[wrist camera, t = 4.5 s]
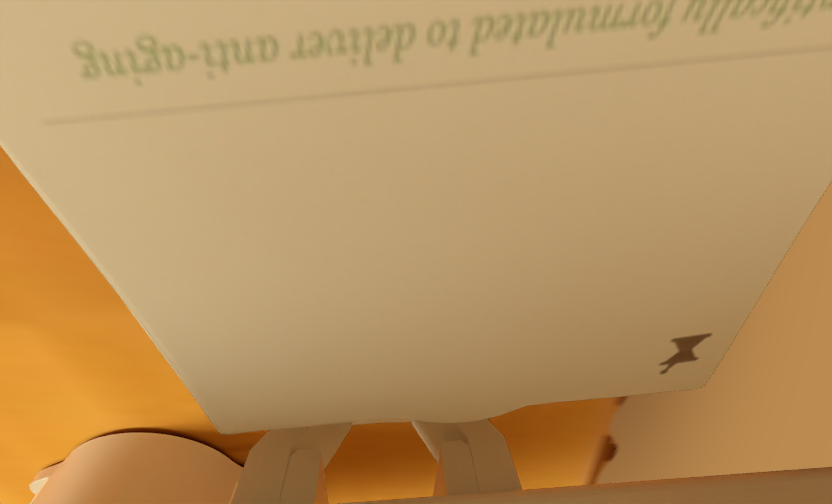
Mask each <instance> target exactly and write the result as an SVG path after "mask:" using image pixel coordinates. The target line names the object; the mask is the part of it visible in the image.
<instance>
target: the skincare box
mask: <svg viewBox="0 0 832 504" xmlns="http://www.w3.org/2000/svg"><path fill="white" fill-rule="evenodd" d="M0 145H1V147H2V148H3V149H4V151H5V152H6V153H7V154H8V156H9V157H10V158H11V160H12V161H13V162H14V163H15V165H16V166H17V167H18V169H19V170H20V171H21V173H22V174H23V175H24V176H25V178H26V179H27V180H28V182H29V183H30V184H31V185H32V186H33V188H34V189H35V190H36V191H37V193H38V194H39V195H40V196H41V198H42V199H43V200H44V201H45V203H46V204H47V205H48V206H49V208H50V209H51V210H52V211H53V213H54V214H55V215H56V216H57V218H58V219H59V220H60V221H61V223H62V224H63V225H64V226H65V228H66V229H67V230H68V231H69V233H70V234H71V235H72V236H73V238H74V239H75V240H76V241H77V243H78V244H79V245H80V246H81V248H82V249H83V250H84V251H85V253H86V254H87V255H88V257H89V258H90V259H91V260H92V262H93V263H94V264H95V265H96V267H97V268H98V269H99V271H100V272H101V273H102V274H103V276H104V277H105V278H106V280H107V281H108V282H109V283H110V285H111V286H112V287H113V288H114V290H115V291H116V292H117V294H118V295H119V296H120V298H121V299H122V300H123V302H124V303H125V304H126V306H127V307H128V308H129V310H130V311H131V313H132V314H133V315H134V317H135V318H136V319H137V321H138V322H139V323H140V325H141V326H142V327H143V329H144V330H145V332H146V333H147V334H148V336H149V337H150V338H151V340H152V341H153V342H154V344H155V345H156V347H157V348H158V349H159V351H160V352H161V353H162V355H163V356H164V357H165V359H166V360H167V362H168V363H169V364H170V366H171V367H172V368H173V370H174V371H175V372H176V374H177V375H178V377H179V378H180V379H181V381H182V382H183V383H184V385H185V386H186V387H187V389H188V390H189V392H190V393H191V394H192V396H193V397H194V398H195V400H196V401H197V403H198V404H199V405H200V407H201V408H202V410H203V411H204V412H205V414H206V415H207V417H208V418H209V419H210V421H211V422H212V424H213V425H214V426H215V428H216V429H217V431H218V432H219V433H221V434H224V435H231V434H238V433H245V432H251V431H261V430H273V429H285V428H297V427H307V426H318V425H329V424H339V423H350V422H360V421H370V420H381V419H391V418H406V419H412V420H417V421H423V422H435V423H461V422H471V421H479V420H483V419H488V418H493V417H497V416H501V415H503V414H506V413H508V412H511V411H514V410H517V409H519V408H522V407H525V406H529V405H538V404H547V403H556V402H565V401H577V400H588V399H600V398H612V397H622V396H632V395H642V394H651V393H660V392H670V391H684V390H692V389H697V388H702V387H703V386H705V385H706V383H707V382H708V380H709V379H710V377H711V376H712V374H713V373H714V371H715V370H716V368H717V366H718V365H719V363H720V362H721V360H722V359H723V357H724V356H725V354H726V352H727V351H728V349H729V347H730V346H731V344H732V342H733V341H734V339H735V338H736V336H737V334H738V333H739V331H740V329H741V328H742V326H743V324H744V323H745V321H746V319H747V318H748V316H749V314H750V313H751V311H752V309H753V308H754V306H755V305H756V303H757V301H758V299H759V298H760V296H761V295H762V293H763V291H764V290H765V288H766V286H767V285H768V283H769V282H770V280H771V278H772V276H773V275H774V273H775V272H776V270H777V268H778V267H779V265H780V263H781V262H782V260H783V258H784V257H785V255H786V253H787V252H788V250H789V248H790V247H791V245H792V243H793V242H794V240H795V238H796V237H797V235H798V234H799V232H800V230H801V229H802V227H803V226H804V224H805V222H806V220H807V219H808V218H809V216H810V215H811V213H812V211H813V210H814V208H815V207H816V205H817V203H818V202H819V200H820V199H821V197H822V196H823V194H824V192H825V191H826V189H827V188H828V186H829V185H830V183H831V182H832V0H0Z"/></svg>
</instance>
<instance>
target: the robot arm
mask: <svg viewBox="0 0 832 504" xmlns="http://www.w3.org/2000/svg"><path fill="white" fill-rule="evenodd" d="M388 422H411V424H412V425H413V427H414V428H415V430H416V431H417V433H418V434H419V436H420V437H421V439H422V440H423V442H424V443H425V445H426V446H427V448H428V449H429V451H430V452H431V454H432V455H433V457H434V458H435V460H436V461H437V462H438V467H437V473H436V480H435V486H434V493H433V497H419V498H406V499H393V500H379V501H366V502H353V503H339V504H832V467H824V468H811V469H798V470H783V471H771V472H757V473H745V474H744V473H743V474H730V475H717V476H703V477H689V478H676V479H664V480H663V479H662V480H650V481H636V482H622V483H609V484H595V485H582V486H568V487H555V488H541V489H528V490H522V487H521V484H520V481H519V478H518V475H517V472H516V469H515V466H514V463H513V460H512V457H511V454H510V451H509V448H508V445H507V442H506V439H505V436H504V435H503V434H502V433H501V432H500V431H499V430H498V429H497V428H496V427H495V426H494V425H493V424H492V423H491V422H490V421H489V420H488V419H483V420H479V421H471V422H461V423H435V422H423V421H417V420H412V419H406V418H391V419H381V420H370V421H360V422H350V423H339V424H329V425H318V426H307V427H297V428H285V429H273V430H269V431H268V432H267V433H266V434H265V435H264V436H263V437H262V438H261V439H260V440H259V441H258V442H257V443H256V444H255V445H254V446H253V447H252V448H251V449H250V451H249V454H248V457H247V459H246V462H245V465H244V467H241V466H239V465H237V464H236V463H234V462H233V461H232V460H230V459H229V458H228V457H226V456H225V455H223V454H222V453H220V452H219V451H217V450H215V449H213V448H211V447H209V446H206V445H204V444H201V443H199V442H196V441H193V440H189V439H186V438H182V437H177V436H172V435H166V434H158V433H139V432H137V433H120V434H113V435H107V436H103V437H99V438H96V439H93V440H90V441H88V442H85V443H83V444H82V445H80V446H78V447H77V448H76V449H74V450H73V451H72V452H71V453H70V454H69V456H68V457H67V458H66V459H65V460H64V461H63V462H61V463H59V464H56V465H54V466H51V467H48V468H45V469H43V470H41V471H40V472H38V474H37V475H36V476H35V478H34V479H33V481H32V482H31V484H30V485H29V488H30V490H31V491H32V492H33V493H34V494H35V495H36V496H35V497H34V498H33V500H32V501H31V503H30V504H329V502H328V496H327V489H326V482H325V475H324V469H325V468H326V466H327V465H328V463H329V462H330V460H331V459H332V457H333V456H334V454H335V452H336V451H337V449H338V448H339V446H340V445H341V443H342V442H343V440H344V438H345V437H346V435H347V434H348V432H349V431H350V429H351V428H352V425H358V424H371V423H388Z"/></svg>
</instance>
